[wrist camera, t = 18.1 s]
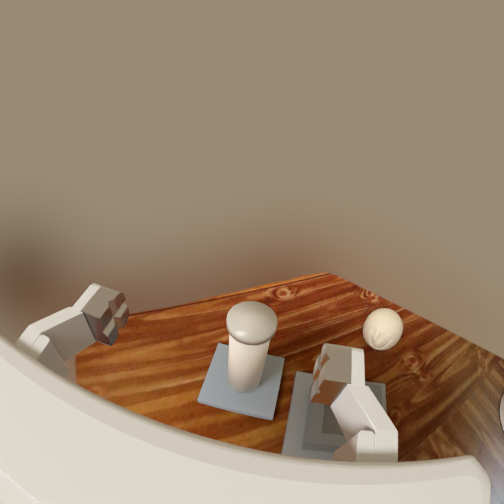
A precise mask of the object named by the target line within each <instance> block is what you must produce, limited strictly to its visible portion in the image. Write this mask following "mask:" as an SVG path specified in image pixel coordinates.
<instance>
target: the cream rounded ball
mask: <svg viewBox="0 0 504 504" xmlns="http://www.w3.org/2000/svg"><path fill="white" fill-rule="evenodd" d="M402 331H403V323H402V320H401V318H400V316H399V315H398V314H397V313H396V312H395V311H393V310H391V309H387V308H381V309H377V310H375V311H373V312H372V313H371V314H370V315H369V316H368V317H367V319H366V321H365V323H364V326H363V337H364V339H365V341H366V342H367V344H368V345H369V346H370V347H372V348H373V349H375V350H387V349H390V348H391V347H393V346H394V345H396V344H397V342H398V341H399V339H400V338H401V335H402Z"/></svg>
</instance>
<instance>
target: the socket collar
mask: <svg viewBox="0 0 504 504" xmlns="http://www.w3.org/2000/svg"><path fill="white" fill-rule="evenodd" d="M314 382H315V380H314V379H313V374H310V373H304V372H299V371H297V372H296V374H295V379H294V385H293V391H292V397H291V403H290V409H289V415H288V420H287V426H286V431H285V436H284V441H283V446H282V451H281V454H282V455H289V456H296V457H303V458H312V459H321V460H333V458H334V451H336V450H337V449H338V448H340V447H341V446H342V445H344V444H345V443H346V442H347V441H346V439H345V437H344V434H343V432H342V430H341V428H340V426H339V424H338V422H337V419H336V417H335V415H334V413H333V411H332V409H331V405H325V404H319V403H314V402H310V398H311V389H312V386H313V384H314ZM365 386H369V388H370V389H371V391H372V392H373V394H374V395H375V397H376V398H377V400H378V401H379V403H380V404H381V406H382V408H383V409H384V411H385V412H386V388H385V384H384V383H375V382H366V381H365Z"/></svg>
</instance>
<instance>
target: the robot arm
mask: <svg viewBox="0 0 504 504" xmlns="http://www.w3.org/2000/svg"><path fill="white" fill-rule="evenodd" d="M124 301H125V296H124V294H123V293H120V292H117V291H115V290H112V289H109V288H106V287H104V286H101V285H98V284H95V283H94V284H92V285H90V287H89V288H88V289H87V290H86V291H85V292H84V294H83V295H82V296H81V297H80V299H79V300H78V301H77V302H76V303H75V304H74V306H73V307H68V308H66V309H63V310H61V311H59V312H57V313H55V314H52V315H50V316H48V317H46V318H44V319H42V320H39V321H37V322H35V323H33V324H31V325H29V326H28V327H27V329H26V330H25V331H24V332H23V334H22V335H21V336H20V338H19V339H18V340H17V342H16V343H15V344H14V345H13V344H12V343H10V342H9V341H8V340H6V339H5V338H4V337H2V336H1V335H0V504H490V499H491V484H490V478H489V476H488V474H487V473H486V471H485V470H484V468H483V467H482V466H481V464H480V463H479V462H478V460H477V459H476V458H475V457H474V456H472V455H464V456H457V457H450V458H442V459H433V460H422V461H408V462H398V431H397V429H396V428H395V426H394V424H393V423H392V421H391V420H390V418H389V417H388V415H387V414H386V412H385V411H384V409H383V408H382V406H381V404H380V403H379V401H378V400H377V398H376V397H375V395H374V394H373V392H372V391H371V389H370V388H369V386H365V363H364V351H363V349H358V348H352V347H347V346H341V345H334V344H328V343H325V344H324V345H323V347H322V352H321V354H320V355H318V358H317V360H316V363H315V366H314V372H313V379H314V380H315V382H314V384H313V386H312V389H311V398H310V402H314V403H319V404H325V405H331V409H332V411H333V413H334V415H335V417H336V419H337V422H338V424H339V426H340V428H341V430H342V432H343V434H344V437H345V439H346V441H347V442H346V443H345V444H344V445H342V446H341V447H340V448H338V449H337V450H336V451H334V458H333V460H321V459H312V458H303V457H296V456H289V455H282V454H276V453H271V452H265V451H260V450H255V449H250V448H246V447H241V446H237V445H233V444H229V443H225V442H221V441H217V440H213V439H210V438H206V437H203V436H200V435H196V434H193V433H190V432H187V431H184V430H181V429H178V428H175V427H172V426H169V425H166V424H163V423H161V422H158V421H155V420H153V419H150V418H147V417H145V416H142V415H140V414H138V413H135V412H133V411H130V410H128V409H126V408H124V407H121V406H119V405H117V404H115V403H112V402H110V401H108V400H106V399H104V398H102V397H100V396H98V395H96V394H94V393H92V392H90V391H88V390H86V389H84V388H82V387H80V386H79V385H77V384H75V383H73V382H71V381H69V380H68V379H66V378H67V376H68V374H69V373H70V369H69V368H68V366H67V365H66V363H65V361H66V360H68V359H69V358H71V357H72V356H74V355H76V354H77V353H79V352H80V351H82V350H83V349H85V348H86V347H88V346H90V345H91V344H93V343H94V342H96V341H99V342H102V343H104V344H107V345H109V346H112V345H113V343H114V342H115V340H116V339H117V337H118V336H119V333H118V330H120V329H122V328H124V326H125V324H126V323H127V320H128V317H129V310H128V307H127V306H126V304H125V303H124ZM500 419H501V424H502V427H503V430H504V394H503V396H502V399H501V403H500Z"/></svg>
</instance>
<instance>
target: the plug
mask: <svg viewBox="0 0 504 504" xmlns="http://www.w3.org/2000/svg"><path fill="white" fill-rule="evenodd" d="M276 327H277V317H276V314H275V313H274V311H273V310H272V309H271V308H269V307H268V306H266V305H265V304H262V303H259V302H254V301H247V302H242V303H239V304H237V305H235V306H233V307H232V308H231V309H230V311H229V312H228V315H227V330H228V332H229V355H228V377H227V380H228V384H229V386H230V387H231V388H232V389H233V390H235V391H236V392H239V393H250V392H253V391H254V390H256V389H257V388H258V386H259V384H260V381H261V377H262V373H263V369H264V364H265V360H266V356H267V352H268V347H269V343H270V339H271V338H272V337H273V336H274V334H275V331H276Z"/></svg>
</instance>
